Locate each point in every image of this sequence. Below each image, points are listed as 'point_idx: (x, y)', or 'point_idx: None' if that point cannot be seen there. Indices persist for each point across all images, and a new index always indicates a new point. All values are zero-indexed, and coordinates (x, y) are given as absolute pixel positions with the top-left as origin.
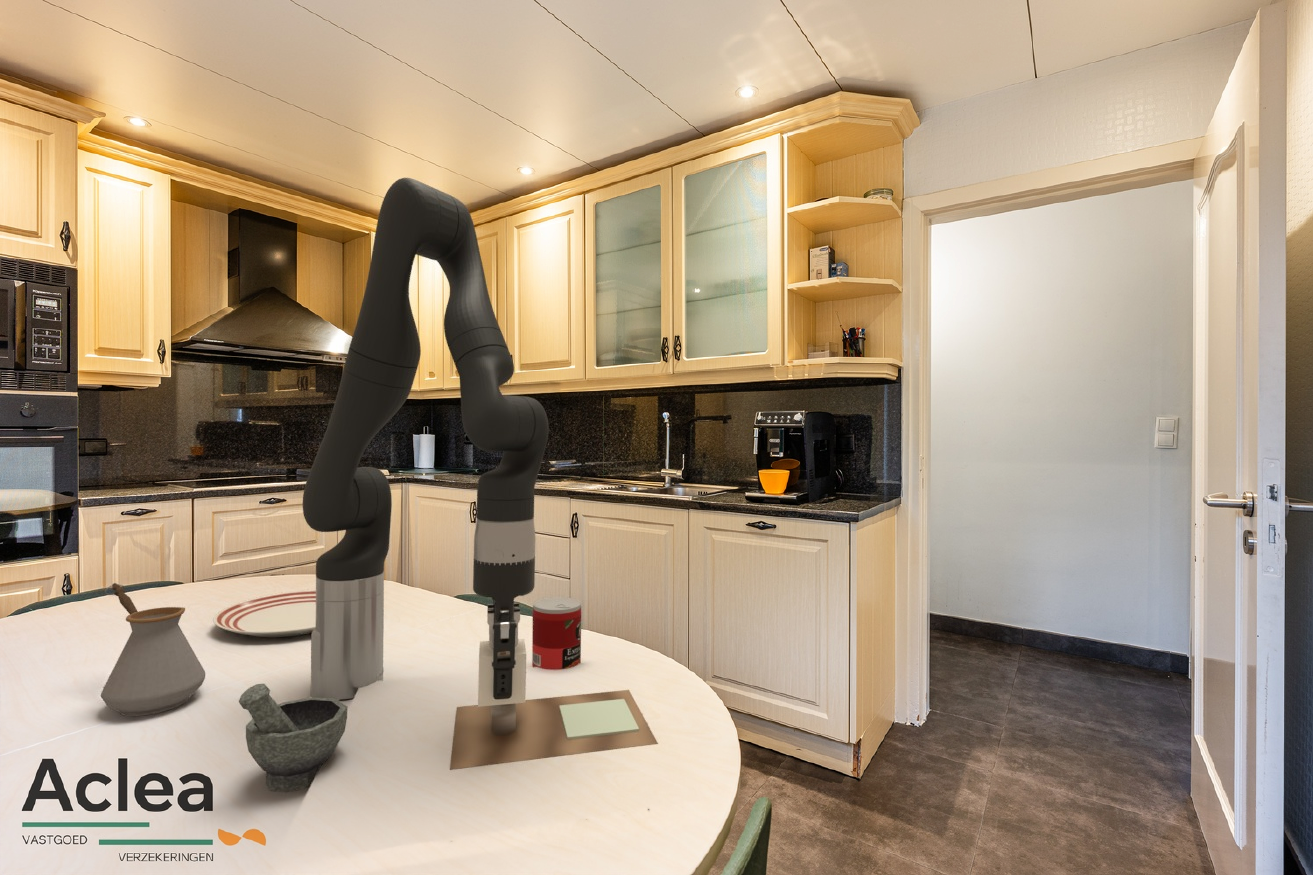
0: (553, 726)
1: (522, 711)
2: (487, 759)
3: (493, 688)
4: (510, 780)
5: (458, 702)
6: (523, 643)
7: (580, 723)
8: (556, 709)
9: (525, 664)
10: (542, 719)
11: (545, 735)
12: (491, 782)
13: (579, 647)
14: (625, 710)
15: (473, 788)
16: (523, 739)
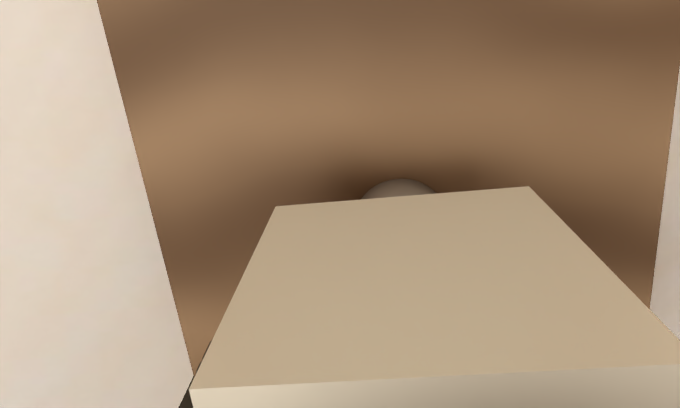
0: (410, 15)
1: (247, 158)
2: (618, 262)
3: None
4: (673, 167)
5: (90, 366)
6: (345, 392)
7: None
8: (237, 1)
9: (634, 303)
10: (333, 68)
11: (486, 52)
12: (662, 225)
13: None
14: None
15: (677, 272)
16: (501, 144)
